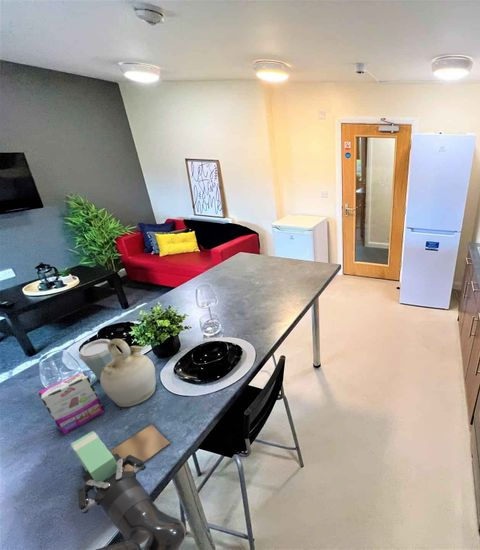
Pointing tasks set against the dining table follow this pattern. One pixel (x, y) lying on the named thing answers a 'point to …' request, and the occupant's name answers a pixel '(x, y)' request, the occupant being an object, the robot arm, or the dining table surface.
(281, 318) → the dining table surface
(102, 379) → the jug
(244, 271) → the dining table surface
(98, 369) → the disposable coffee cup
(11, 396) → the dining table surface
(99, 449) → the green carton
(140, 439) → the cork mat
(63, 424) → the candy bar box
